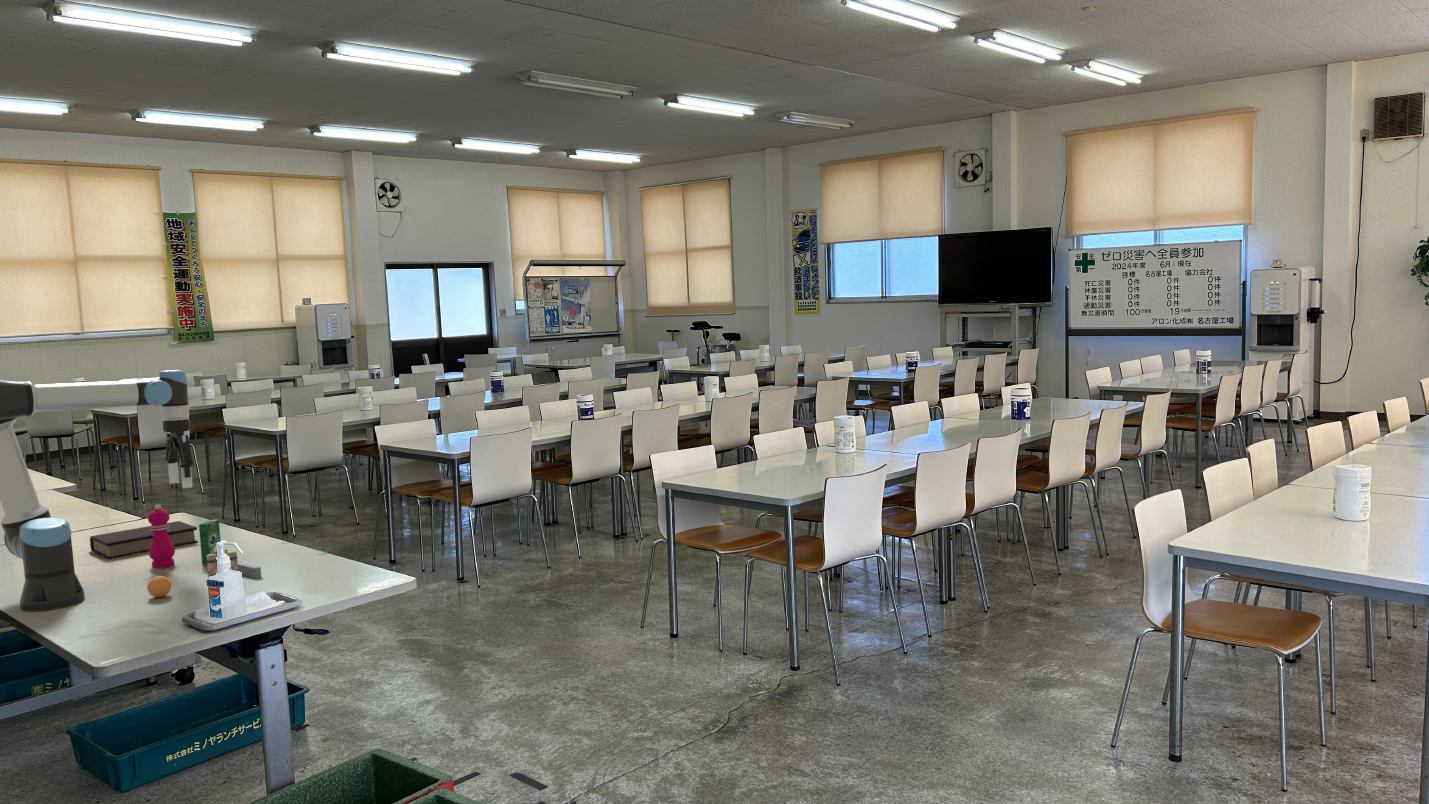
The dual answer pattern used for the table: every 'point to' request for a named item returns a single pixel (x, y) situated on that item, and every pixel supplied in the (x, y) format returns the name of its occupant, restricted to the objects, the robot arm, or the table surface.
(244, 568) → the back wall
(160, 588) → the ball
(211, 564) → the front pin
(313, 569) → the table surface
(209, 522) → the coffee box
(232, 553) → the pin
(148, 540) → the book
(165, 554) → the pepper mill
